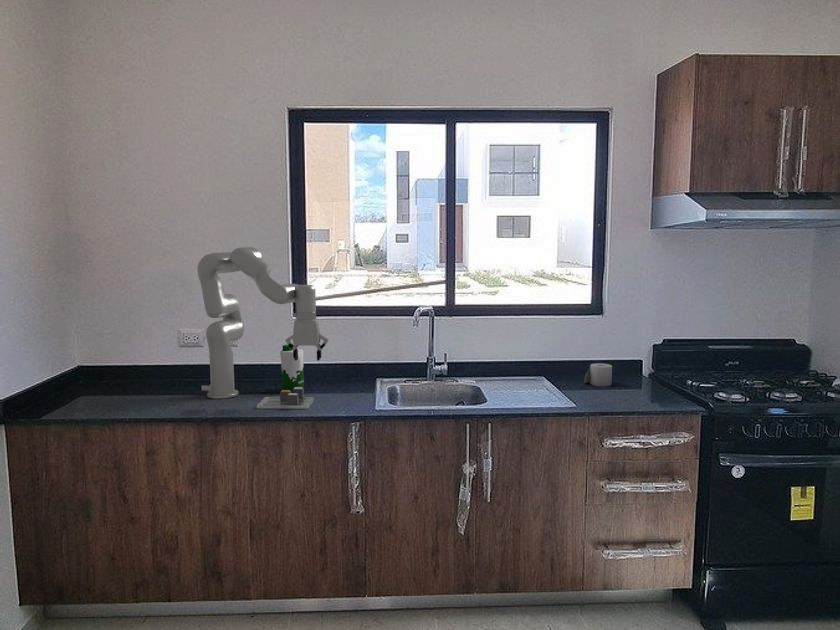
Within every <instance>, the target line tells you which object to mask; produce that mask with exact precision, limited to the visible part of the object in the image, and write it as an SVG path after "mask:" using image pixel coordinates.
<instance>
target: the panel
mask: <svg viewBox="0 0 840 630" xmlns="http://www.w3.org/2000/svg"><path fill="white" fill-rule="evenodd" d="M314 401H315V398H314V396H313V397H312V396H304V397H303V398H299V403H298V405H287V401H280V396H265V397H264V398H263V399H261V401H260V402H258V404H256V409H257V410H258V409H260V410H262V409H267V410H268V409H270V410H271V409H273V410H274V409H275V410H276V409H279V410H280V409H286V410H287V409H289V410H290V409H293V410H294V409H295V410H297V409H301V410H304V409H305V410H306V409H309V407H310V406H311V404H313V402H314Z"/></svg>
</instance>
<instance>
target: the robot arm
mask: <svg viewBox="0 0 840 630" xmlns="http://www.w3.org/2000/svg"><path fill="white" fill-rule="evenodd" d="M196 270H197V276H198V280H199V282H200V287H201V293H202V299H203V303H204V309H205V312H206V315H207V316H208V317H209V318H211V319H220V318H222V320H217V321H214V322H212V323H210V324H209V325H208V326H207V328H206V330H205V337H206V342H207V345H208V353H209V355H208V356H209V357H208V358H209V372H210V373H209V374H210V375H209V376H210V384H209V385H201V389H200V390H201V391H203V392H207V394H206V396H207V398H209V399H213V400H215V399H216V400H219V399H229V398H234V397H237V396H238V395H239V390H237V389H235V372H234V371H235V370H234V369H235V368H234V366H235V365H234V351H233V348H232V346H231V344H230V343H231V342H235V341H238V340H240V339H241V338H242V337H243V336H244V333H245V323H244V319H243V318H244V317H243V313H242V308H241V303H240V301H239V299H238V298H237V297H236V296H235V295H233V294H231V293H225V290H224V285H223V281H222V280H221V278H220V277H219V276H218V274H227V273H229V274H230V273H236V272H241V273H243V274H245V275H246V276H247V277H248V278H249V279H251V280H253V282H255V284H256V287H257V289H258V290H259V292H260V293H261V294H262V295H263V296H264V297H266V298H267V299H268V300H270V301H271V302H272V303H275V304H277V305H285V304H291V303H292V304H293V303H295V305H296V311H295V313H292V317H294V318H296V319H295V320H294V321H293V322H294V323H293V333H292V335H291V336H289V337H288V338H286V339H285V342H286V345H289V347H290V348H291V349H292V350H293V358H295V361H296V360H297V359H298V350H297V349H298V347H299V346H307V347H308V346H311V347H312V346H315V347H316V349H317V350H316V360H317V361H320V360H321V358H322V350H323V348H324V347H325V346H326V345H327V344H328V342H329V339H328V338H327V337H325V336H324V335H323V334H321V331H320V323H319V320H318V319H317V305H316V304H317V303H316V301H317V300H316V298H317V297H316V294H317V293H316V287H315V286H314V285H313V284H297V283H286V284H280V283H278V282H277V281H276V280H275V279H273V278H272V277H271V276H270V273H271V266H270V265H269V264H268V263H266V262H265V261H264V260H263V254H262V253H261V251H260V250H259V249H258V248H256V247H252V246H251V247H250V246H248V247H237V248H235V249H233V250H232V251H229V252H228V251H227V252H226V251H225V252H211V253H208V254H205V255H204V256H203V257H201V258H200V260H199V262H198V264H197V269H196ZM291 340H292V341H291ZM321 340H322V341H323V342H322V344H320V343H321Z"/></svg>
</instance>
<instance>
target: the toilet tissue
mask: <svg viewBox="0 0 840 630" xmlns="http://www.w3.org/2000/svg"><path fill="white" fill-rule="evenodd" d="M612 379H613V365H612V364H609V363H600V362H598V363H597V362H596V363H591V364H590V367H589V368H588V370H587V371H586V373H585V376H584V379H583V384H588V383H589V384H590V385H592V386H597V387H610V386H611V385H612V382H613V381H612Z"/></svg>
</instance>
